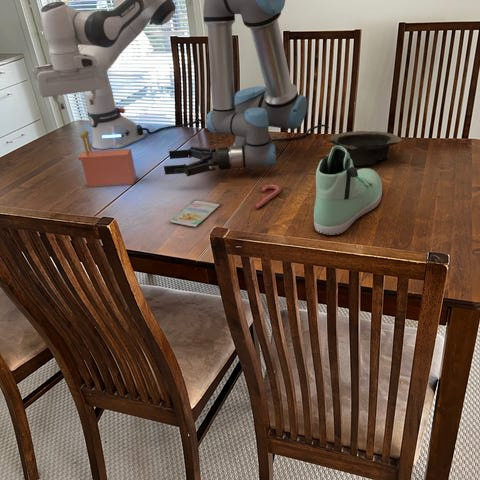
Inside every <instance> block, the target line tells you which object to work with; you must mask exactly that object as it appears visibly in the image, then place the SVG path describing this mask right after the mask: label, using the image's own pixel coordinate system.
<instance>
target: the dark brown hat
mask: <svg viewBox="0 0 480 480" xmlns="http://www.w3.org/2000/svg"><path fill="white" fill-rule="evenodd" d="M402 141H403V138H401V137H400V136H398V135H396V134H394V133H389V132H386V131H385V132H384V131H377V130H376V131H374V130H356V131H355V130H354V131H345V132H341V133H337V134H332V135H331V136H329V140H328V143H331V144H333V145H334V146H342V147H344V148H345V149H346V150H347V152H348V153H349V156H350V159H352V161H353V166H355V167H364V166H373V165H375V164H376V163H377V161H386V160H387V159H388V158H389V155H390V148H391V147H392V146H395V145H398V144H399V143H401V142H402Z"/></svg>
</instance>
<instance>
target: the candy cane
mask: <svg viewBox="0 0 480 480" xmlns="http://www.w3.org/2000/svg"><path fill="white" fill-rule="evenodd" d="M268 190H274V191H272V192H271V193H270V194H268V195H267V196H265V197H264V198H262V199H261V200H260V201H259V202H257V203H256V204H255V205H254V208H255V209H260V208H261V207H262V206H264V205H266V204H267V203H268V202H269V201H270V200H272V199H273V198H274V197H276V196H277V195H279V194H280V193H281V191H282V189H281V187H280V186H279V185H277V184H267V185H264V186H262V188H261V192H263V193H265V192H266V191H268Z"/></svg>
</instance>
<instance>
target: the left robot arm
mask: <svg viewBox="0 0 480 480" xmlns="http://www.w3.org/2000/svg"><path fill="white" fill-rule="evenodd" d="M112 2H113V5H114V7H113V8H112V9H110V10H98V11H97V10H96V11H92V10H91V11H85V10H84V11H83V10H79V9H76V8H73V7H71V6H69V5H68V4H67V3H66V2H65V1H54V2H50V3H47V4H45V5H43V6H42V7H41V9H40V22H41V27H42V28H41V29H42V31H43V36H44V39H45V41H46V42H47V46H48V55H49V58H50V62H51V63H45V64H38V65H36V66H35V67H34V68H33V70H32V75H33V78H34V79H35V81H36V82H37V87H38V93H39V95H40V96H41V97H42V98H49V97H52V98H53V99H52V100H53V101H54V102H55V103H56V104H57V105H58V107H59V110H60V111H61V110H65V109H66V106H65V103H64V102H61V101H60V99H59V96H65V95H71V94H78V93H83V95H84V100H85V104H86V108H87V118H88V122H89V125H90V127H91V128H90V129H91V137H92V138H91V140H92V141H91V148H94V149H98V150H110V149H123V148H124V147H127V146H128V145H131V144H132V143H135V142H137V141H139V140H141V139H143V138H145V137H146V135H145V133H144V131H146V133H147V134H149V135H152V134H156V133H158V132H160V131H163V130H168V129H175V128H180V127H187V126H192V125H194V124H196V123H199V122H201V123H204V122H205V121H204V120H203V119H201V118H197V119H195V120H194V121H192V122H187V123H181V124H175V125H167V126H163V127H160V128H158V129H156V130H154V131H150V130H149V128H147V127H143V126H142V125H141V124H136V123H135V122H134V121H133V120H131V119H129V118H127V117H125V116H123V115H122V114H125V112H126V109H125V108H124V107H123V108H122V107H117V106H116V103H115V97H114V94H113V88H112V85H111V81H110V78H109V75H108V70H109V69H110V68H111V67H112V66H113V65H114V63H116V61H117V60H118V58H119V57H120V56H121V54H122V53H123V52H124V51H125V50H126V49H127V48H128V47H129V46H130V44H132V43H133V41H135V40H136V38H137V37H139V36H140V35H141V33H143V31H144V30H145V28H146V27H147V26H148V24H149V25H154V26H163V25H165V24H167V23H169V22H170V21H171V20H172V18H173V17H174V15H175V12H176V9H177V8H176V5H175V4H176V3H174V1H173V0H112Z"/></svg>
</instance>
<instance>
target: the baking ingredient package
mask: <svg viewBox="0 0 480 480" xmlns="http://www.w3.org/2000/svg"><path fill="white" fill-rule="evenodd" d="M219 206H221V204H220V203H215V202H210V201H209V202H208V201H202V200H196V199H195V200H194V201H193V202H192V203H190V204H189V205H188V206H186V208H184V209H183V210H182V211H180V212H179V213H178V214H177V215H175V216H174V217H173V218H172V219H171V220H169V223H173V224H174V223H175V224H178V225H183V226H188V227H194V228H196V227H197V226H198V225H199V224H200V223H202V222H203V221H204V220H205V219H206V218H207V217H208V216H210V215H211V214H212V213H213V212H214V211H215V210H216V209H218V207H219Z"/></svg>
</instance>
